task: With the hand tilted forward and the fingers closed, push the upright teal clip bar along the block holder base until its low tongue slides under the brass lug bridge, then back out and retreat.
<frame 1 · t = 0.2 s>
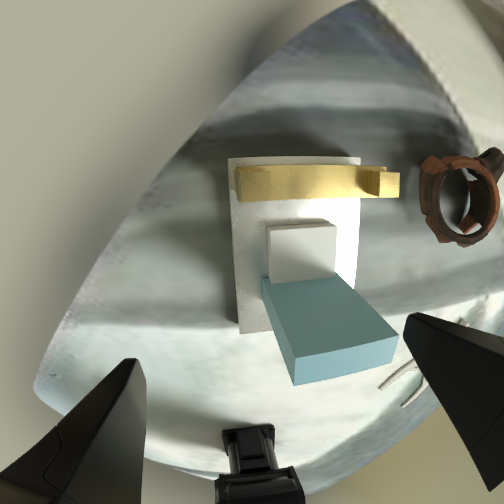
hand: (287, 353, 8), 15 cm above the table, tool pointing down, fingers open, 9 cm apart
block holder base: (294, 243, 23), on the table
pliers: (428, 360, 32), on the table
clip bar: (322, 289, 17), point 6 cm above the table, slide at 0.0 cm
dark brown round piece: (446, 186, 24), on the table
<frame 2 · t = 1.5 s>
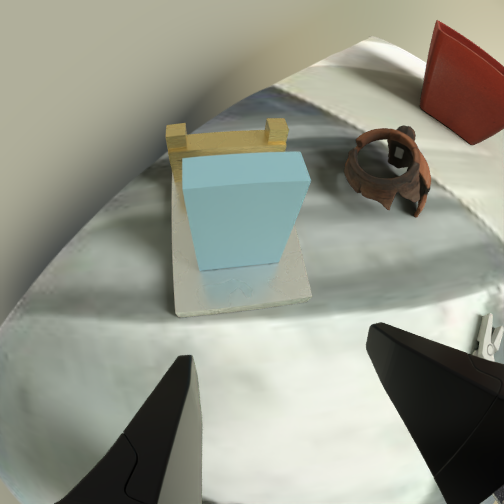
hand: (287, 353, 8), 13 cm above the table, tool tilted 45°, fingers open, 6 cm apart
plant pot: (447, 116, 40), on the table
block holder base: (232, 230, 24), on the table
pliers: (468, 383, 20), on the table
clip bar: (236, 194, 18), point 6 cm above the table, slide at 0.0 cm
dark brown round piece: (383, 186, 29), on the table
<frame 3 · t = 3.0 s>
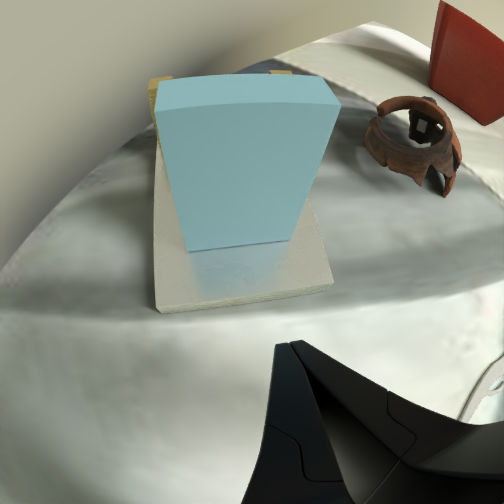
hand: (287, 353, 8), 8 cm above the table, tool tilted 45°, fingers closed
plant pot: (456, 96, 36), on the table
block holder base: (230, 204, 19), on the table
clip bar: (234, 147, 13), point 6 cm above the table, slide at 0.0 cm
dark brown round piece: (406, 163, 24), on the table
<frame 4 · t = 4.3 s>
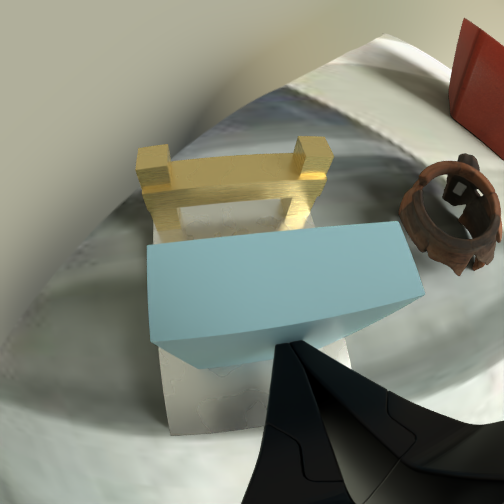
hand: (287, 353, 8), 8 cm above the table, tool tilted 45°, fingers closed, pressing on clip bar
plant pot: (476, 125, 33), on the table
block holder base: (244, 305, 17), on the table
clip bar: (257, 272, 11), point 6 cm above the table, slide at 0.5 cm, touching gripper
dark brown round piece: (438, 231, 21), on the table
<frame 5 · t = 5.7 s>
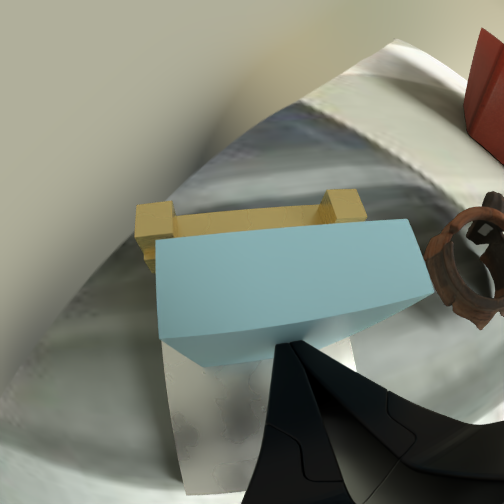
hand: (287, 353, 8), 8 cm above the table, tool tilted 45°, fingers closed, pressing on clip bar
plant pot: (491, 141, 31), on the table
block holder base: (259, 365, 15), on the table
clip bar: (263, 269, 11), point 6 cm above the table, slide at 4.2 cm, touching gripper
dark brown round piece: (460, 273, 19), on the table
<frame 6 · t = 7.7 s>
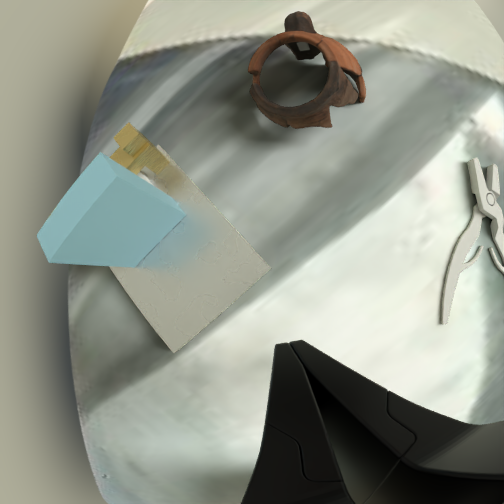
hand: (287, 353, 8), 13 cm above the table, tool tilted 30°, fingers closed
block holder base: (168, 245, 23), on the table
pliers: (481, 241, 20), on the table
clip bar: (105, 202, 17), point 6 cm above the table, slide at 4.2 cm
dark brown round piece: (308, 89, 23), on the table
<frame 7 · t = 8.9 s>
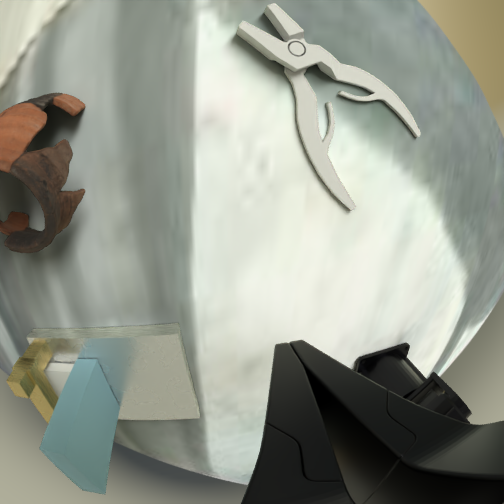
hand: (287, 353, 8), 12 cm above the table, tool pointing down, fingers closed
block holder base: (114, 373, 21), on the table
pliers: (324, 93, 17), on the table
clip bar: (65, 423, 15), point 6 cm above the table, slide at 4.2 cm
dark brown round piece: (38, 156, 15), on the table
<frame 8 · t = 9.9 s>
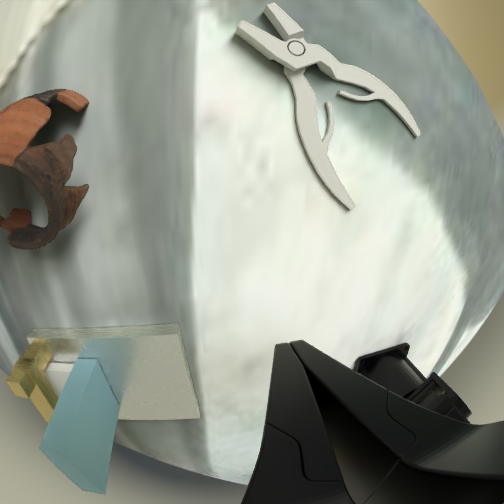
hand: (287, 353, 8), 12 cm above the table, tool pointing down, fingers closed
block holder base: (114, 373, 21), on the table
pliers: (323, 92, 17), on the table
clip bar: (65, 423, 15), point 6 cm above the table, slide at 4.2 cm
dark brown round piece: (41, 153, 15), on the table
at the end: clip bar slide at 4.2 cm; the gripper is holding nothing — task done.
